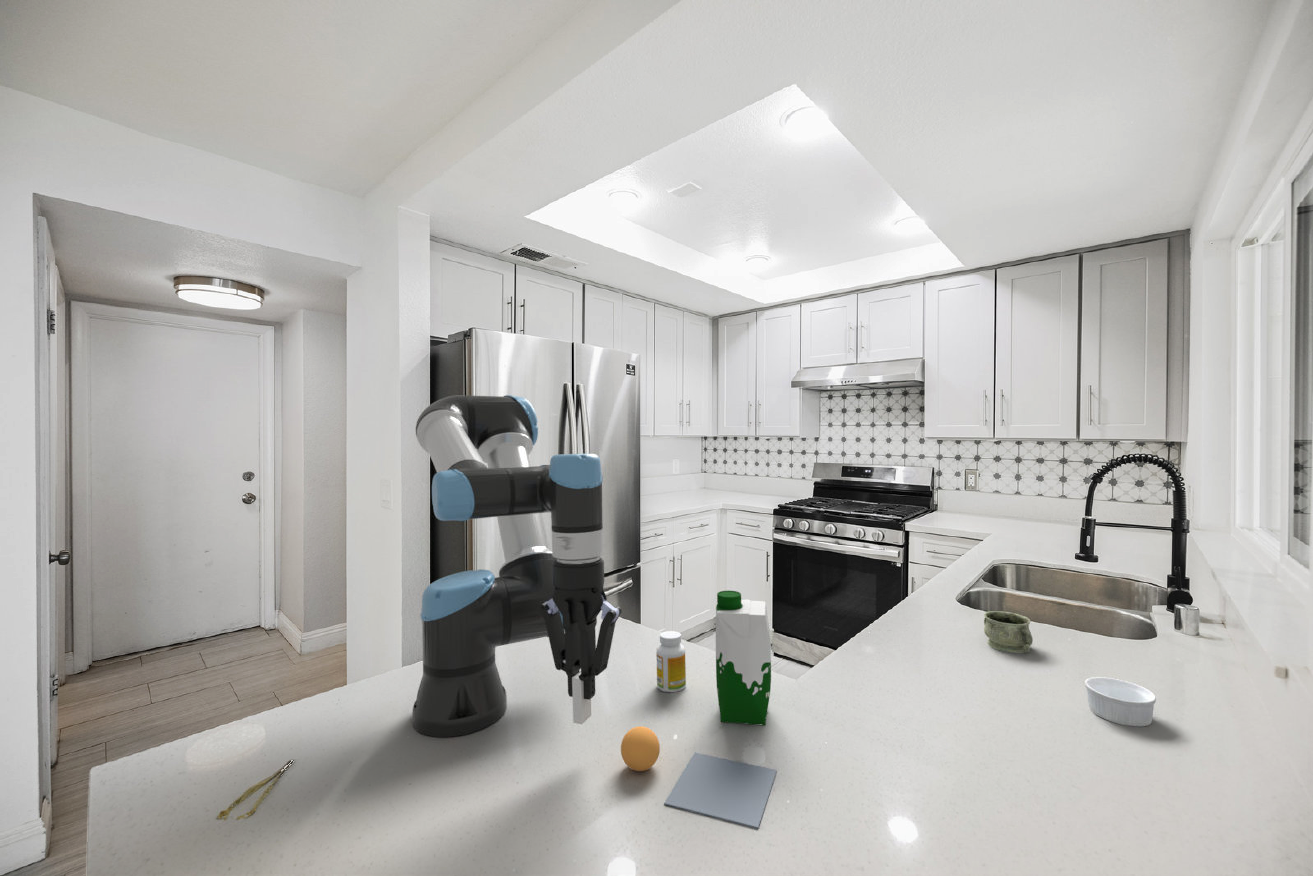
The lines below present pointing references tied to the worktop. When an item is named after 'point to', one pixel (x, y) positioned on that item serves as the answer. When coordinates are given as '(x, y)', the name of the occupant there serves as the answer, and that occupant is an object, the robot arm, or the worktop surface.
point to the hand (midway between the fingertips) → (582, 719)
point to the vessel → (1007, 631)
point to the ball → (640, 748)
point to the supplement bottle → (671, 662)
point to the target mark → (723, 789)
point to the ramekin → (1120, 701)
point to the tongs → (251, 791)
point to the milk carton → (742, 659)
